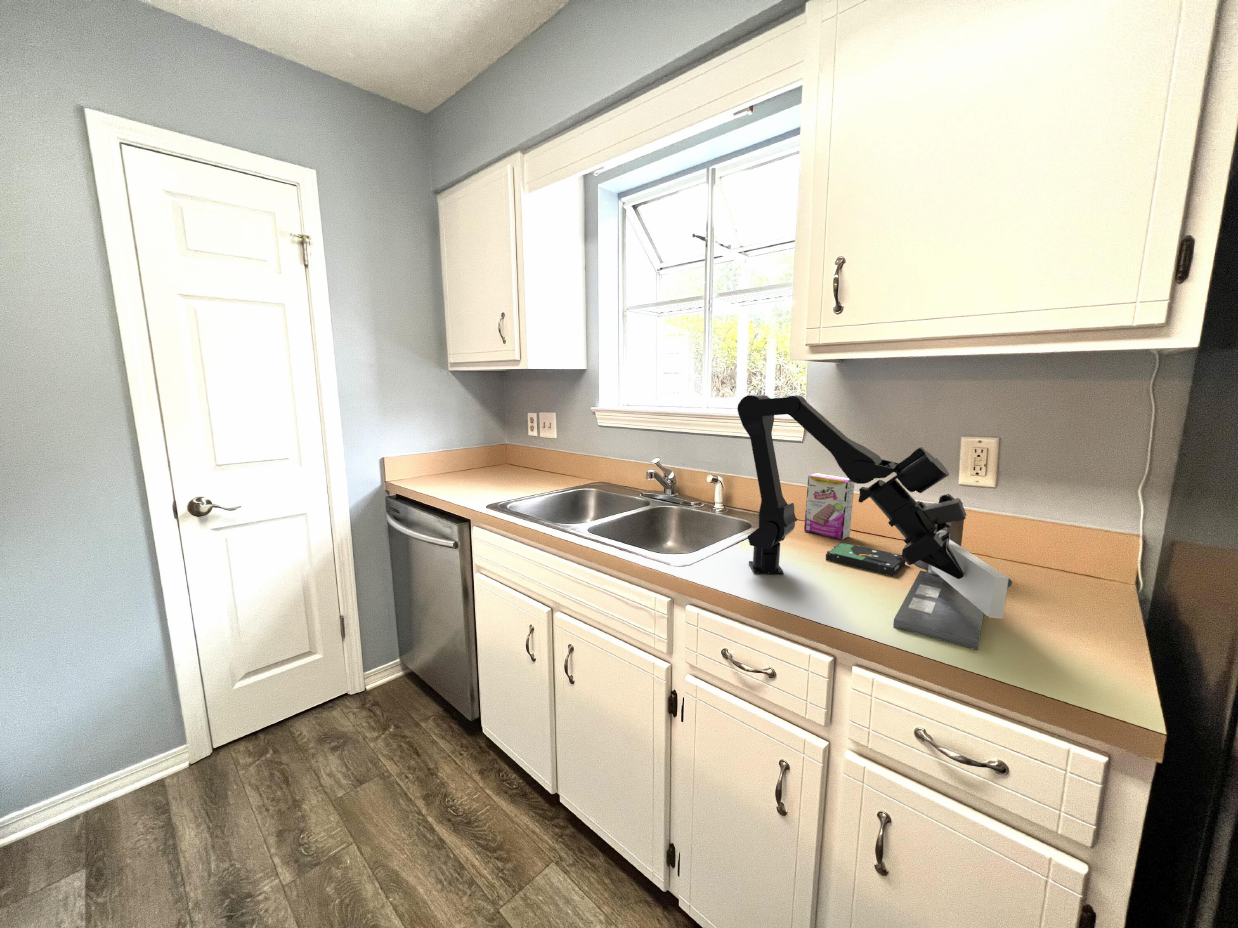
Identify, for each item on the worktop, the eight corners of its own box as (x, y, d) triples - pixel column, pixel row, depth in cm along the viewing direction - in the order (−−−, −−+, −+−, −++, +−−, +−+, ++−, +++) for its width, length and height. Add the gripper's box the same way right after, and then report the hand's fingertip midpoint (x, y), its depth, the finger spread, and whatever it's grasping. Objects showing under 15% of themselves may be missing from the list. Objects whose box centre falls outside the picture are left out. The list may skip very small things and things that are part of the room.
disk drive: (905, 566, 117) (840, 551, 127) (906, 555, 117) (841, 540, 127) (892, 579, 110) (824, 561, 120) (894, 567, 109) (825, 550, 119)
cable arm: (925, 570, 106) (930, 528, 104) (946, 571, 105) (951, 529, 103) (987, 623, 82) (994, 571, 81) (1013, 625, 82) (1021, 572, 80)
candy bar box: (803, 531, 142) (807, 474, 139) (811, 528, 145) (815, 472, 143) (842, 540, 134) (847, 480, 131) (850, 536, 137) (855, 478, 135)
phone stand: (893, 626, 87) (900, 555, 85) (919, 576, 110) (925, 519, 107) (977, 650, 80) (987, 572, 78) (987, 591, 102) (995, 529, 100)
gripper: (932, 491, 83) (1005, 570, 79) (944, 474, 98) (1006, 540, 93) (875, 527, 90) (939, 602, 85) (894, 506, 104) (950, 570, 99)
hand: (961, 576), depth 90 cm, fingers closed
